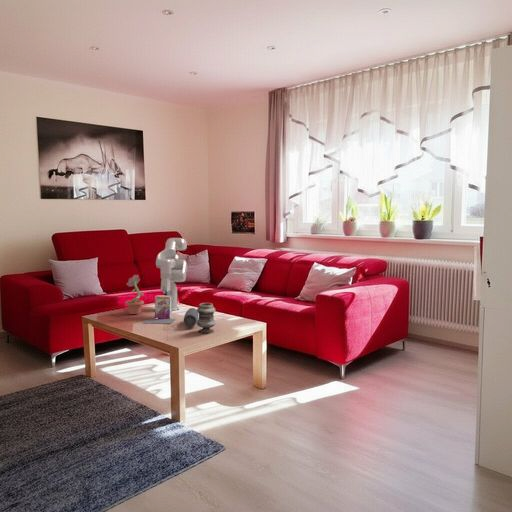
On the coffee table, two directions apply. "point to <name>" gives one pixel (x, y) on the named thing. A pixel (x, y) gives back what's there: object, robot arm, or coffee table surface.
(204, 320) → the apothecary jar
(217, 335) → the coffee table surface
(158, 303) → the candy bar box
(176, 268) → the robot arm
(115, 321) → the coffee table surface
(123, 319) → the coffee table surface
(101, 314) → the coffee table surface
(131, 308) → the decorative flower
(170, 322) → the mat
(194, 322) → the bluetooth speaker
